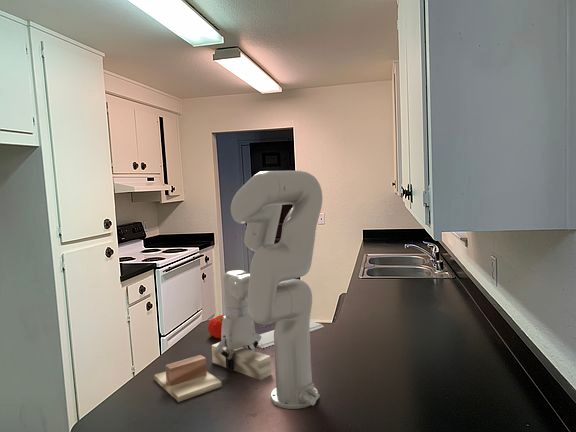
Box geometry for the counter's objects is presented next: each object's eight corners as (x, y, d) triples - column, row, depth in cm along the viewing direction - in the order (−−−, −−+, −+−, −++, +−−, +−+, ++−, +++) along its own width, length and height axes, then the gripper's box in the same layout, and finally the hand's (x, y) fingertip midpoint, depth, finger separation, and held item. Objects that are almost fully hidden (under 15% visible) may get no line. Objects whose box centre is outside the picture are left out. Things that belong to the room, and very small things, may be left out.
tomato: (216, 330, 170) (215, 312, 169) (241, 332, 166) (240, 314, 166) (202, 340, 160) (201, 320, 159) (228, 342, 156) (227, 322, 156)
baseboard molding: (327, 329, 167) (306, 323, 177) (326, 322, 167) (305, 316, 176) (264, 351, 147) (244, 343, 156) (264, 343, 147) (244, 335, 156)
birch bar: (271, 375, 128) (270, 356, 127) (260, 381, 124) (259, 361, 124) (223, 358, 142) (222, 341, 142) (212, 363, 139) (211, 345, 138)
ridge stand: (221, 386, 121) (220, 364, 121) (178, 402, 113) (177, 378, 113) (194, 367, 135) (193, 347, 135) (154, 379, 128) (153, 358, 127)
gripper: (254, 302, 140) (257, 355, 141) (206, 314, 130) (210, 371, 131) (267, 307, 134) (270, 362, 135) (218, 319, 124) (221, 379, 125)
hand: (240, 366), depth 133 cm, fingers open, 6 cm apart
